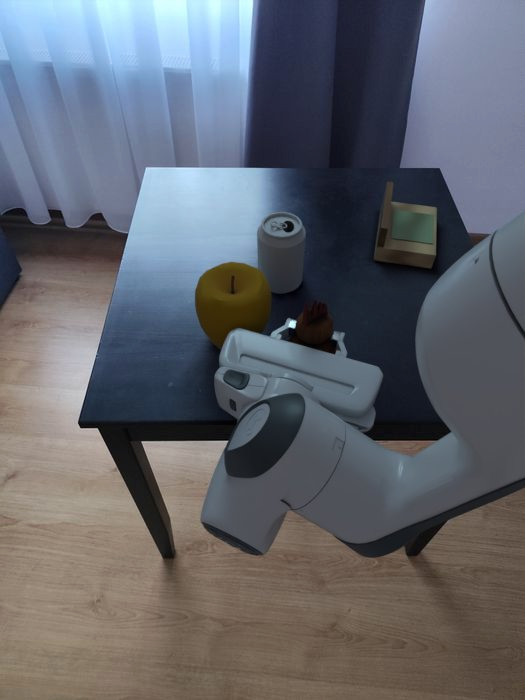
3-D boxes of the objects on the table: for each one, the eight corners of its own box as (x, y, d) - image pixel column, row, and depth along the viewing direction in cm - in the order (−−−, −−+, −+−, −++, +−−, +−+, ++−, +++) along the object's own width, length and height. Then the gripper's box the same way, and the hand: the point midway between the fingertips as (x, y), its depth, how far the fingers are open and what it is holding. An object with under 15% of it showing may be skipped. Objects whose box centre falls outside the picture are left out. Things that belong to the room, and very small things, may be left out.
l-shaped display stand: (432, 220, 91) (443, 188, 86) (431, 268, 83) (443, 236, 77) (379, 213, 93) (387, 181, 87) (373, 260, 84) (380, 227, 79)
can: (302, 297, 79) (307, 238, 69) (257, 296, 79) (256, 238, 69) (301, 266, 83) (305, 208, 74) (258, 266, 84) (257, 207, 74)
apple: (250, 377, 69) (247, 317, 59) (186, 351, 72) (173, 290, 62) (282, 326, 75) (285, 264, 65) (222, 304, 78) (216, 241, 68)
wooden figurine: (293, 389, 67) (299, 318, 56) (281, 358, 71) (284, 284, 59) (338, 378, 68) (353, 306, 57) (324, 348, 72) (335, 274, 60)
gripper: (374, 425, 51) (398, 333, 59) (201, 372, 56) (245, 293, 64) (365, 451, 56) (388, 363, 64) (207, 401, 61) (246, 324, 69)
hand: (315, 328), depth 64 cm, fingers closed on wooden figurine, 5 cm apart
